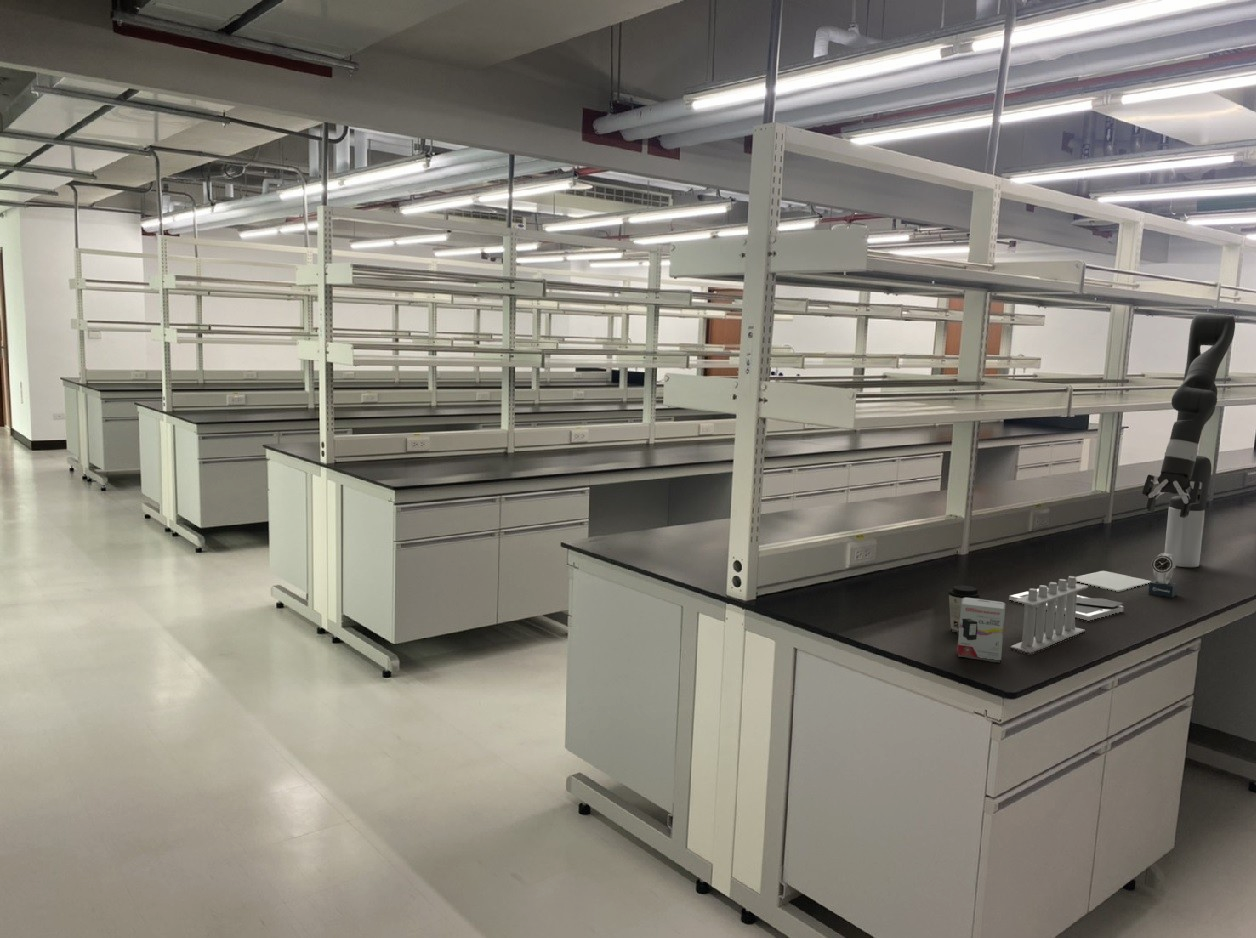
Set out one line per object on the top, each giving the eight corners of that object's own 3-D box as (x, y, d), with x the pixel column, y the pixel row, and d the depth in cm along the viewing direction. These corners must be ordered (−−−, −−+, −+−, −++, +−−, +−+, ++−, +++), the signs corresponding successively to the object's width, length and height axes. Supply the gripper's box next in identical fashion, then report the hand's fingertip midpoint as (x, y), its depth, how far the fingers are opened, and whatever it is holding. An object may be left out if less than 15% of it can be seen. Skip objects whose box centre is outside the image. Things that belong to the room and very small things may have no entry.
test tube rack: (1065, 628, 209) (1070, 572, 207) (1084, 633, 205) (1089, 576, 203) (1010, 649, 193) (1014, 589, 191) (1030, 655, 190) (1034, 594, 188)
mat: (1102, 572, 261) (1102, 570, 261) (1152, 583, 250) (1152, 581, 250) (1067, 580, 251) (1068, 578, 251) (1118, 592, 240) (1118, 590, 240)
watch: (1146, 595, 237) (1149, 554, 236) (1155, 589, 243) (1158, 549, 241) (1170, 599, 233) (1174, 558, 232) (1178, 594, 239) (1182, 553, 237)
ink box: (956, 657, 187) (959, 602, 186) (957, 650, 192) (961, 596, 190) (1000, 664, 184) (1004, 608, 182) (1001, 656, 188) (1005, 602, 187)
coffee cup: (952, 635, 201) (955, 592, 200) (940, 626, 208) (943, 584, 207) (983, 635, 202) (986, 592, 200) (970, 626, 209) (972, 584, 207)
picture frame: (1122, 614, 222) (1043, 594, 239) (1123, 603, 222) (1044, 584, 239) (1088, 624, 213) (1008, 603, 230) (1089, 613, 213) (1009, 592, 230)
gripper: (1213, 464, 247) (1199, 521, 247) (1159, 457, 259) (1146, 512, 259) (1201, 459, 243) (1187, 517, 243) (1147, 452, 255) (1133, 508, 255)
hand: (1166, 514), depth 251 cm, fingers open, 8 cm apart
